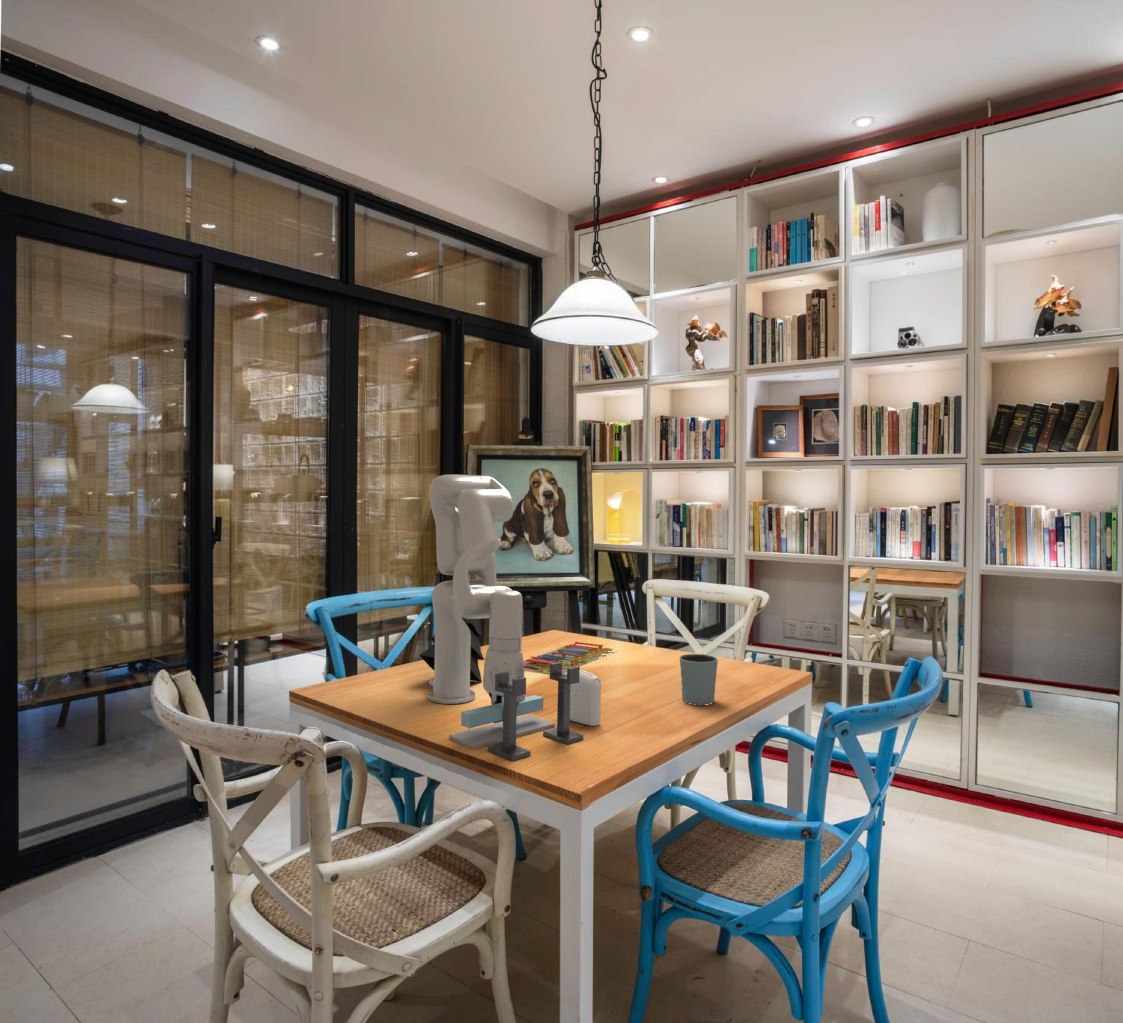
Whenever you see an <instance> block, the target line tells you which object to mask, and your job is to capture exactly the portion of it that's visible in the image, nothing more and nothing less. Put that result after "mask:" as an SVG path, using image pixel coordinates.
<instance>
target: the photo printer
mask: <svg viewBox="0 0 1123 1023" xmlns="http://www.w3.org/2000/svg"><path fill="white" fill-rule="evenodd" d="M565 674H566V675H567V672H565ZM601 688H602V683H601V680H600V678H599V677H598V676H597V675H596V674H593V673H592V672H590V671H586V670H583V669H580V675H579V683H574V684H570V721H571V722H576V723H579V724H583V725H587V726H591V727H597V726H598V725H599V724H600V722H601V714H602V713H601V709H602V708H601V702H602V701H601V700H602V699H601V698H602V697H601V695H602V690H601Z"/></svg>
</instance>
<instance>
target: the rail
mask: <svg viewBox="0 0 1123 1023" xmlns="http://www.w3.org/2000/svg"><path fill="white" fill-rule="evenodd" d="M524 697H525V700H524V701H522V702H520V703H519V704H518V705H517V717H522V716H526V715H530V714H532V713H537V712H540V711H544V697H543V696H540V695H536V694H533V695H529V696H524ZM460 717H461V718H460V720H461V721H460V725H461V726H462V727H465V728H468V729H474V728H478V727H482V726H484V725H485V726H486V725H488V724H489V725H490V724H494V723H493V722H497V721H501V720H503V702H502V703H498V704H494V705H492V704H490V705H486V706H480V707H477V708H472V709H468V710H463V711H461V716H460Z"/></svg>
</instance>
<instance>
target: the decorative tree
mask: <svg viewBox="0 0 1123 1023" xmlns="http://www.w3.org/2000/svg"><path fill="white" fill-rule="evenodd" d="M462 619H463V621H464V622H465V623H466V625H467V626H468V628H469V630H470V634H471V647H470V682H476V683H477V682H478V683H483V681H482V680H483V679H482V675H481V674H482V673H481V671H480V668H479V661H485V658H484V656H483V653H482V650H481V648H482V647H481V643H480V639H479V637H482V625H481V624H482V623H481V618H480V619H466V618H464V617H462ZM430 639H431V641H432V642H433V644H432V645H430V647H428V648H427V649H426V650H425V651H423V652H421V653H420V654H419V655H418V656H419V657H420V658H421V659H422V660H423V662H425V663H426V665H428V667H430V668H431V670H433V671H434V665H435V634H434V635H433V636H431V637H430Z"/></svg>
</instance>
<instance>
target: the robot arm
mask: <svg viewBox="0 0 1123 1023" xmlns="http://www.w3.org/2000/svg"><path fill="white" fill-rule="evenodd" d="M428 497H429V505H430V510H431V512H432V515H433V519H434V522H435V540H436V542H435V544H436V545H435V546H436V549H435V550H436V563H437V564H436V565H437V569H438V572H440V574H442V575H446V576H452V580H445V581H442V582H441V581H440V582H439V583H438V584H437V585H435V587H434V588H433V590H432V593H431V603H432V609H433V615H434V635H435V665H434V670H433V672H434V673H433V679H430V680H429V681H428V684H429V685H430V686H432V690H431V691H429V693H428V694H427V699H428V700H429V701H430V702H433V703H437V704H442V705H443V704H445V705H448V704H449V705H457V704H465V703H467V702H471V701H473V700H475V699H476V692H475V691H474V690H472V689H471V688H470V687H471V685H470V684H471V680H470V647H471V634H470V630H469V628H468V626H467V625H466V623H465V622H464V621H463V619H462V617H464V618H466V619H480V620H481V619H489V622H488V624H489V629H488V648H487V649H486V653H485V658H484V662H483V675H482V677H483V678H482V680H483V681H482V688H483V690H484V691H485V692H486V693H487V694H488V696H489V698H490V703H491V704H490V705H494V704H498V703H502V702H503V701H504V693H501V692H498V691H495V674H499V673H504V672H508V673H509V685H512V679H516V678H520V677H525V671H524V662H523V661H524V656H523V655H524V654H523V651H522V640H523V638H522V637H523V635H522V634H523V596H522V593H521V592H519V591H517V590H512V588H510V587H508V586H506V585H497V561H496V559H497V558H496V553H495V552H496V551H497V550H498V548H499V546H500V545H499V544H500V543H499V542H500V541H499V536H498V534H497V533H498V532H497V529H496V528H497V527H496V524H495V523H506V522H508V521H510V520H511V519H512V517H513V515H514V512H515V511H514V502H513V498H512V496H511V494H510V492H509V490H507V488H505V486H503V485H502V484H501V483H500V482H499V481H497V480H496V479H495V478H494V477H492V476H489V475H475V474H473V475H471V474H442V475H439V476H436V477H435V478H434V479H433V480H432V481H431V483H430V486H429V496H428ZM470 575H471V576H475V577H474V578H475V579H469V576H470ZM525 697H526V696H525V695H521V696H517V705H518V704H519V703H520V702H522V701H524V700H525ZM500 722H503V720H501V721H497V722H493V723H492V724H496V723H500Z"/></svg>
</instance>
